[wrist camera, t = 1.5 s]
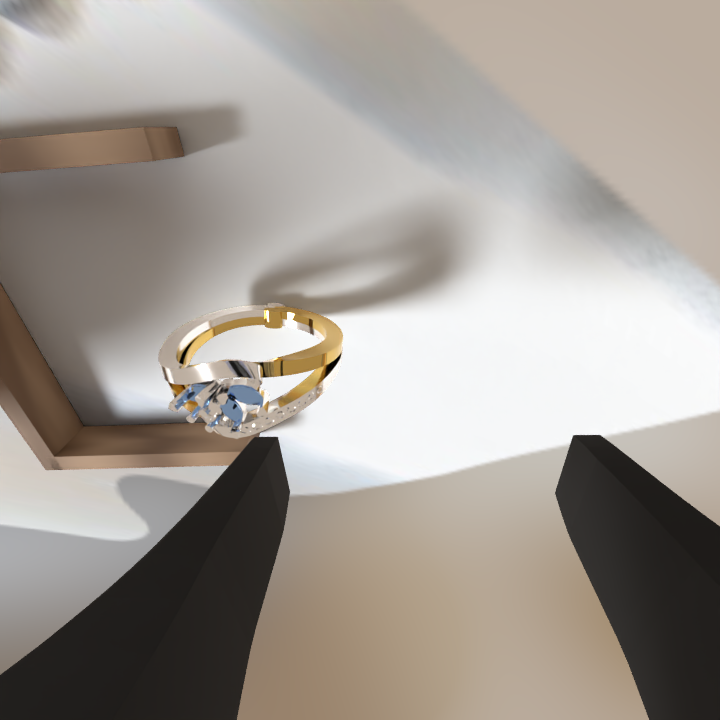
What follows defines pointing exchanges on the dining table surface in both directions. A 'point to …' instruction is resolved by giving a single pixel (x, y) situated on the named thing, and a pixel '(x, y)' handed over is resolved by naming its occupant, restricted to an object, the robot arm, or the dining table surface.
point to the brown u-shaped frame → (31, 372)
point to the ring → (247, 370)
